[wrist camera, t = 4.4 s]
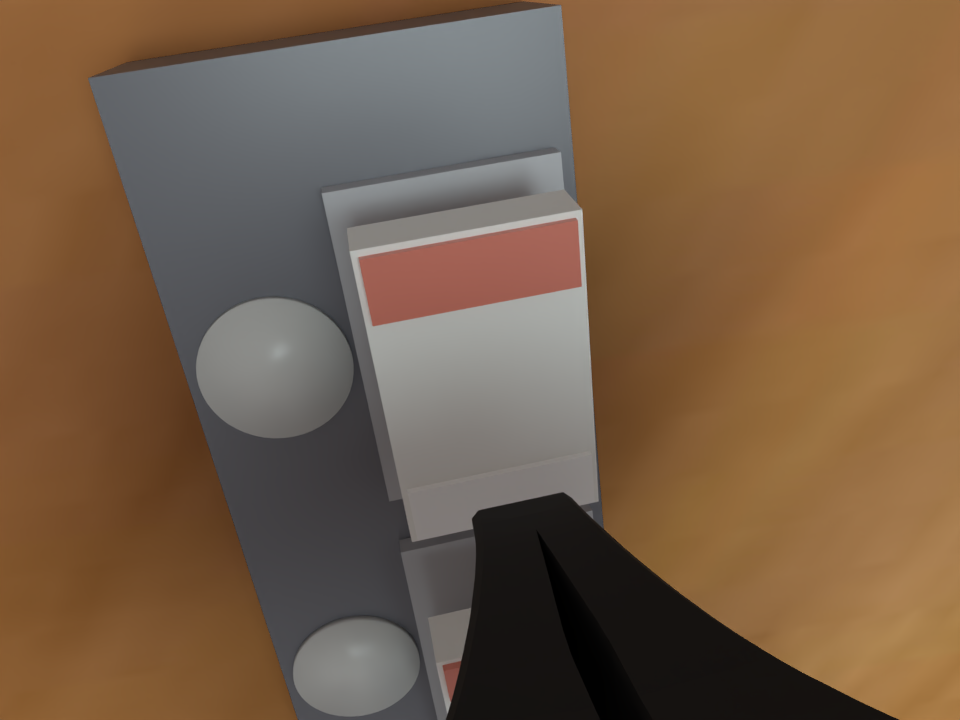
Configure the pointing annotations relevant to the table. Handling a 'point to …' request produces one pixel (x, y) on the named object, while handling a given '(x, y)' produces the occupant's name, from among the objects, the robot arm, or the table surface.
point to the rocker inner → (449, 647)
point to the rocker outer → (481, 355)
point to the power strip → (328, 301)
